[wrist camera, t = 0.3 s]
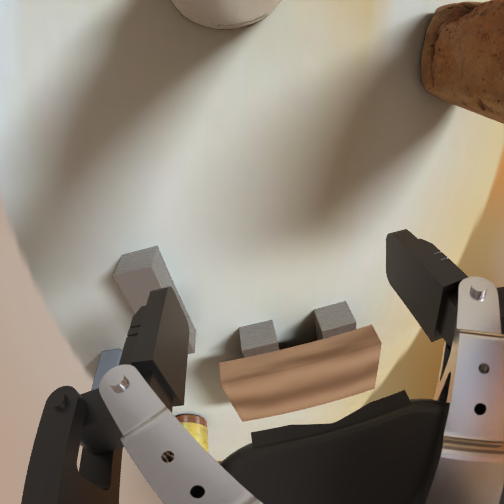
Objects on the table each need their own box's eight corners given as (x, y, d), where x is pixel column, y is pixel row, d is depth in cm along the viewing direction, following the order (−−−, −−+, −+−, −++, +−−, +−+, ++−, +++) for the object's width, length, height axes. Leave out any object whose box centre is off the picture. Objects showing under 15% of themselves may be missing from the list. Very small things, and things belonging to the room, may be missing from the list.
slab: (219, 362, 34) (220, 383, 31) (371, 324, 33) (381, 343, 31) (240, 403, 39) (242, 421, 37) (367, 371, 38) (374, 388, 36)
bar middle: (238, 325, 36) (241, 350, 33) (271, 317, 36) (277, 342, 33) (259, 379, 43) (262, 401, 39) (286, 373, 43) (291, 395, 39)
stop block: (101, 351, 36) (88, 400, 30) (119, 349, 36) (108, 399, 30) (140, 398, 43) (135, 441, 36) (157, 396, 43) (153, 441, 36)
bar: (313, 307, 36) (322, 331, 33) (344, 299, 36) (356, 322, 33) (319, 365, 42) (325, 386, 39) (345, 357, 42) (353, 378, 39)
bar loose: (122, 253, 30) (112, 275, 26) (157, 244, 29) (151, 266, 26) (165, 334, 36) (161, 358, 33) (195, 328, 36) (194, 352, 33)
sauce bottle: (175, 409, 45) (174, 520, 28) (211, 415, 47) (218, 523, 30) (168, 425, 48) (167, 524, 31) (202, 430, 50) (206, 527, 33)
